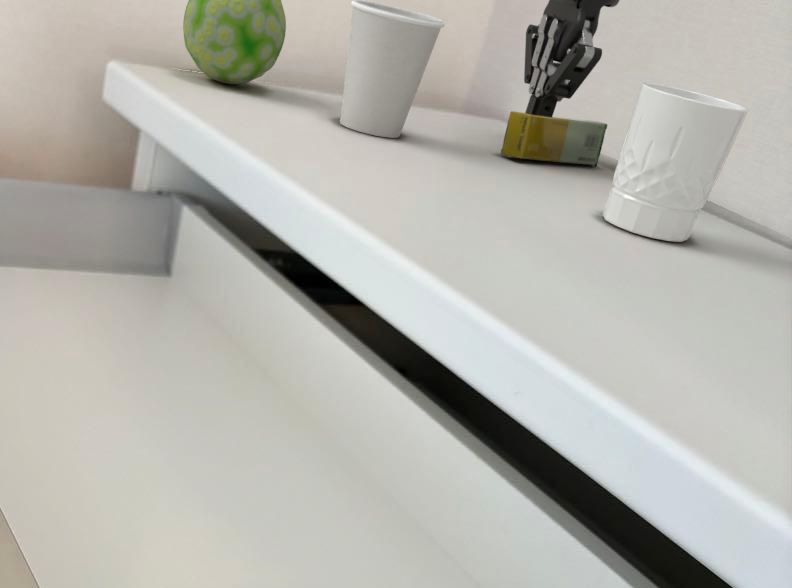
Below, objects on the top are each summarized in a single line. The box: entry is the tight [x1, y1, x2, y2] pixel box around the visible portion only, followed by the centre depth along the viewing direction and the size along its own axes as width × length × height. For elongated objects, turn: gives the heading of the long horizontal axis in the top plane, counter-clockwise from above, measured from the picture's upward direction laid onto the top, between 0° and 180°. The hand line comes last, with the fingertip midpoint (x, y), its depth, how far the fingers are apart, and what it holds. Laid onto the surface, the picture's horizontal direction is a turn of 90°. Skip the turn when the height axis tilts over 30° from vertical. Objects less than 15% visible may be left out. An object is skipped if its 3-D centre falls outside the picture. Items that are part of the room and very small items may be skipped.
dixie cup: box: [339, 0, 445, 139], centre depth 98 cm, size 8×8×10 cm
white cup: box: [602, 82, 749, 243], centre depth 84 cm, size 8×8×10 cm
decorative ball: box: [182, 0, 287, 85], centre depth 104 cm, size 10×10×10 cm
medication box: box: [500, 110, 608, 168], centre depth 104 cm, size 12×3×4 cm, turn 126°
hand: (531, 137), depth 108 cm, fingers closed
